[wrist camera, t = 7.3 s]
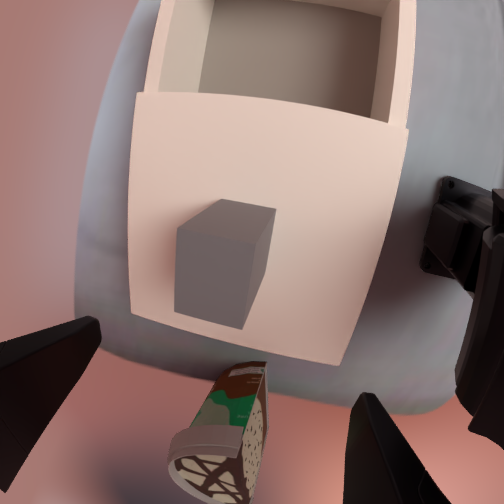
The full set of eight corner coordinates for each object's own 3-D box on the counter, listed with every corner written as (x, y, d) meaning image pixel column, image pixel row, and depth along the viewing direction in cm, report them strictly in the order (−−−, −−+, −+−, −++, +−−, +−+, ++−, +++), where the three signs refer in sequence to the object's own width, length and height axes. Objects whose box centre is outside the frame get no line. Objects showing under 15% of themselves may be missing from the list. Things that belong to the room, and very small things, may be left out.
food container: (193, 340, 24) (138, 430, 15) (266, 347, 23) (235, 453, 14) (212, 427, 29) (181, 501, 19) (269, 435, 27) (248, 516, 18)
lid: (405, 129, 11) (455, 126, 6) (338, 360, 15) (339, 432, 11) (142, 93, 12) (70, 83, 8) (135, 309, 17) (87, 359, 12)
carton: (392, 14, 13) (415, -24, 8) (368, 188, 17) (388, 208, 12) (208, -8, 14) (174, -44, 9) (182, 155, 19) (136, 163, 14)
